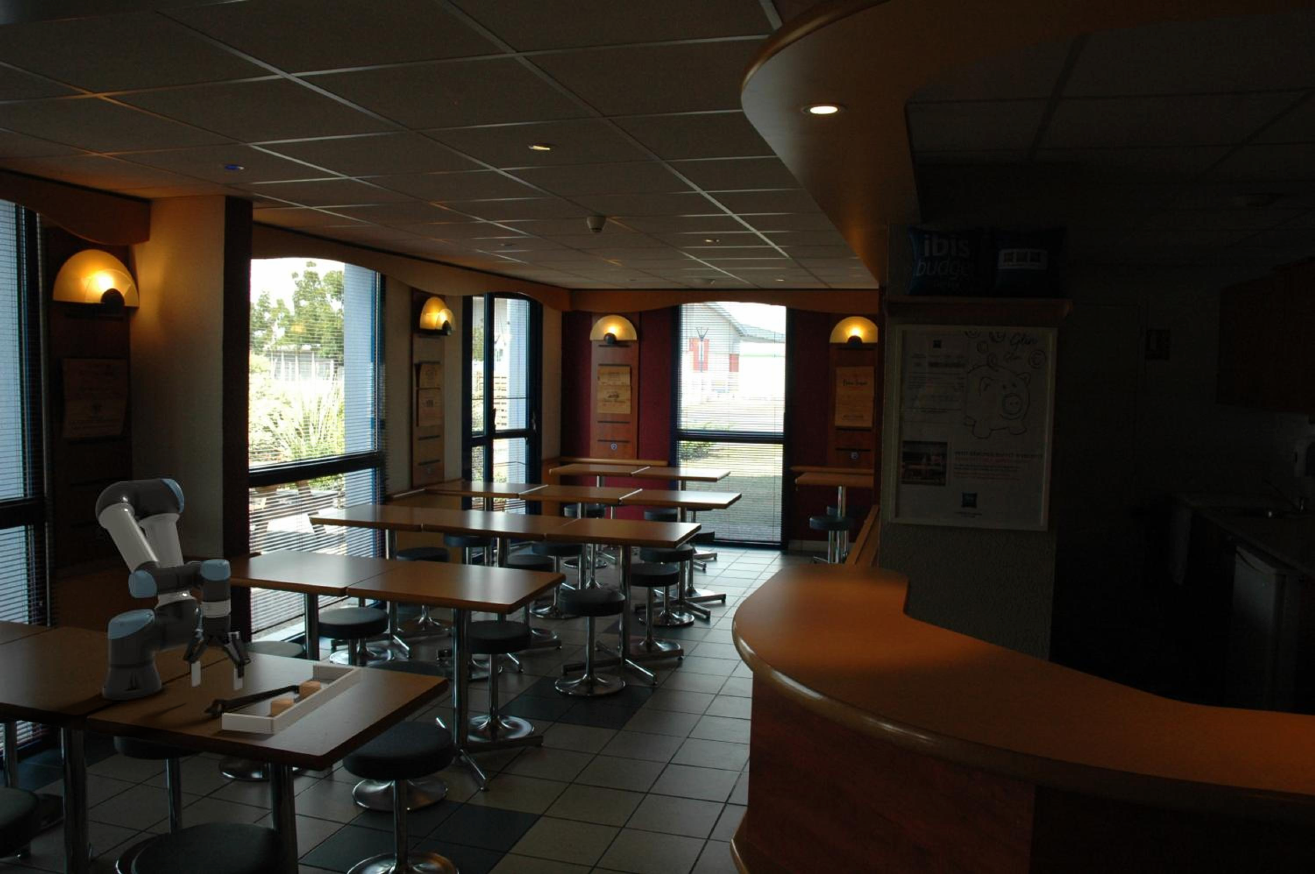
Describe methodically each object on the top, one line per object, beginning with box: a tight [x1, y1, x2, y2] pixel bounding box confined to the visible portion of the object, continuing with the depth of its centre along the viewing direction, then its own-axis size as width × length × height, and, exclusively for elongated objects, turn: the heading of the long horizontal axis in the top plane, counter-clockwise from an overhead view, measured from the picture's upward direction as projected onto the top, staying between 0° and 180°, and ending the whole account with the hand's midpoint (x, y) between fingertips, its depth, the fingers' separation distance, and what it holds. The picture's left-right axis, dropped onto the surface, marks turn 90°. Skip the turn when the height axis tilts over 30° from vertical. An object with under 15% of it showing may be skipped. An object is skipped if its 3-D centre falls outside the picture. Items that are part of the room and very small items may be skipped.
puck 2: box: [298, 680, 322, 700], centre depth 266 cm, size 6×6×4 cm
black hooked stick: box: [204, 684, 300, 719], centre depth 258 cm, size 5×5×30 cm
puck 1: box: [270, 697, 295, 718], centre depth 252 cm, size 6×6×4 cm
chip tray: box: [221, 663, 362, 735], centre depth 260 cm, size 16×44×4 cm, turn 169°
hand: (217, 686), depth 260 cm, fingers open, 13 cm apart
